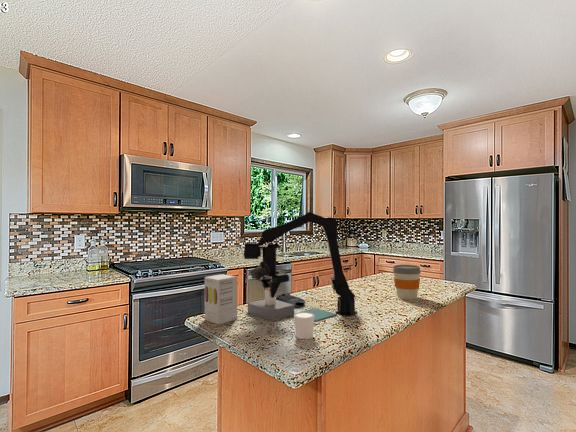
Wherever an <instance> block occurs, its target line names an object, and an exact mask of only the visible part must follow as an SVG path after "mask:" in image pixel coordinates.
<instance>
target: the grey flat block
mask: <svg viewBox="0 0 576 432" xmlns="http://www.w3.org/2000/svg"><path fill="white" fill-rule="evenodd" d="M247 313H249V314H250V315H253V316H256V317H259V318H261V319H264V320H267V321H269V322H272V321H277V320H281V319H283V318H287V317H291V316H294V314H295V307H294V305H293V304H289V303H286V302H283V301H279V300H276V298H275V304H274V305H270V306H269V305H266V304H265V298H263V299H259V300H255V301H250V302H247Z"/></svg>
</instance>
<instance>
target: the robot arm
mask: <svg viewBox="0 0 576 432" xmlns="http://www.w3.org/2000/svg"><path fill="white" fill-rule="evenodd" d="M309 223H312V224H314V225H317V226H320V227H322V229H323V232H324V235H325V237H326V241H327V245H328V249H329V256H330V262H331V265H332V271H333V272H332V273H333V277H332V276H331V277H330V278H329V279H330V281H331V289H332V291H334V292H335V294H337V295H338V296H339V297H338V296H337V305H336V306H337V310H336V311H335V314H337V315H338V314H339V315H342V316H345V317H349V316H353V315H356V314H358V311H356V305H355V303H356V300H355V298H356V297H355V296H356V295H355V294H354V292H353V290H352V289H350V286H349V283H348V281H347V277H346V276H345V274H344V271H343V265H342V260H341V255H340V254H341V253H340V248H339V243H338V222H337V220H336V218H334V217H331V216H330V217H329V216H328V217H324V216H321V215H318V214H315V213H314V212H311V211H307V212H306V213H305V214H303V215H301V216H299V217H297V218H295V219H293V220H290V221H287V222H286V223H283V224H282V225H278V226H273V227H270V228H267V229H264V230H263V231H262V233H261V237H260V240H258V242H245V243H244V250H243V258H244V260H260V259H259V258H260V257H262V260H261V261H260V262H259V266H256V267H254V268H253V269H251V270H249V271H250V272H249V273H250V275H251V278H252V280H257V281H258V282H260V284H262V287H263V290H264V291H265V288H266V287H270V292H271V298H273V297H274V296H275V297H276V293H277V291H278V289H279V287H280V285H281V283H287V282H290V275H289V274H287V273H280V271H278V270H277V269H278V268H277V265H278V264H279V260H277V249H280V248H281V247H282V246H281V245H280V244H279V242H277V241H276V240H278V239H279V238H281V236H283V235H284V234H287V233H289V232H290V231H293V230H294V229H295V230H296V229H297V228H299V227H301V226H304V225H306V224H309ZM274 241H276V242H275V243H273V242H274ZM265 244H267V246H264V245H265Z"/></svg>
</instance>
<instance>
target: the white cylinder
mask: <svg viewBox="0 0 576 432" xmlns="http://www.w3.org/2000/svg"><path fill="white" fill-rule="evenodd" d="M300 312H301V313H298V312H295V313H296V314H295V313H294V315H293V321H294V330H295V337H296V338H297V339H299V340H311V339H312V338H313V337H314V326H315V322H314V314H312V313H307V312H302V311H300Z"/></svg>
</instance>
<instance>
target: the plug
mask: <svg viewBox="0 0 576 432" xmlns="http://www.w3.org/2000/svg"><path fill="white" fill-rule="evenodd" d="M264 299H265V304H266V305H269V306H270V305H274V304H275V299H276V295H275V296H274V297H273V298H271V292H270V287H266V288H265V290H264Z"/></svg>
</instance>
